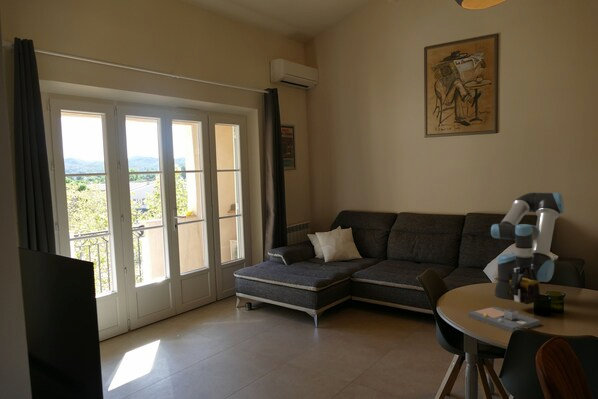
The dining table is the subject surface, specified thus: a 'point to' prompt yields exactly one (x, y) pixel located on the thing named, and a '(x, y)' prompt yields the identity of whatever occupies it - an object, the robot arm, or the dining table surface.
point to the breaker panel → (503, 319)
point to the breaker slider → (510, 314)
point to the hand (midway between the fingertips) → (524, 299)
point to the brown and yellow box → (526, 291)
